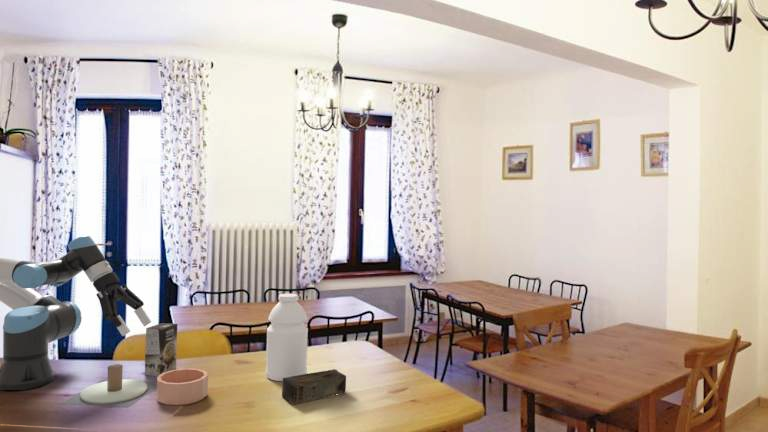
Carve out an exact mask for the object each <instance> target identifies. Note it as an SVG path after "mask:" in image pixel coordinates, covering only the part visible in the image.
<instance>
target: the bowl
mask: <svg viewBox="0 0 768 432" xmlns="http://www.w3.org/2000/svg"><path fill="white" fill-rule="evenodd" d="M208 379H209V374H208V372H207V371H206V370H203V369H199V368H189V367H188V368H176V369H174V370H171V371H168V372H164V373H162V374H161V375H159V376H156V382H157V387H156V401H157V402H159V403H161V404H163V405H168V406H169V405H171V406H173V405H174V406H180V405H182V406H189V405H191V404H195V403H198V402H200V401H201V400H203V399H204V398H205V397H206V396H208V392H209V391H208V387H209V386H208V385H209V384H208V383H209V382H208V381H209V380H208Z"/></svg>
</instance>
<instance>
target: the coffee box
mask: <svg viewBox="0 0 768 432" xmlns="http://www.w3.org/2000/svg"><path fill="white" fill-rule="evenodd" d="M177 342H178V323H169V322H168V323H165V322H161V323H158V324H155V325H151V326H149V327H146V329H145V349H144V350H145V351H144V352H145V353H144V375H147V376H153V377H154V376H156V377H158V376H159V375H161V374H162V373H164V372H168V371H171V370H176V369H177V354H178V353H177V350H178V343H177Z"/></svg>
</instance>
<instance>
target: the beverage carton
mask: <svg viewBox="0 0 768 432" xmlns="http://www.w3.org/2000/svg"><path fill="white" fill-rule="evenodd" d="M346 388H347V376H346V375H345V374H344V373H341V372H340V371H338V370H337V369H335V368H334V369H328V370H321V371H317V372H316V371H315V372H310V373H306V374H304V375H298V376H291V377H286V378H283V381H282V388H281V389H282V390H281V397H282V398H283V399H285V400H286V401H287V402H288V403H289V404H290V405H291V404H292V406H293V405H299V404H301V403H302V402H303V403H307V402H306V401H308V402H311V400H312V401H316V399H317V400H321V399H320V398H322V399H325V398H324V397H326V398H329V396H331V397H333V396H332V395H335V396H337V395H336V394H339V395H341V394H340V393H344V392H345V393H346V390H347V389H346ZM345 393H344V394H345ZM298 403H299V404H298Z"/></svg>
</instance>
